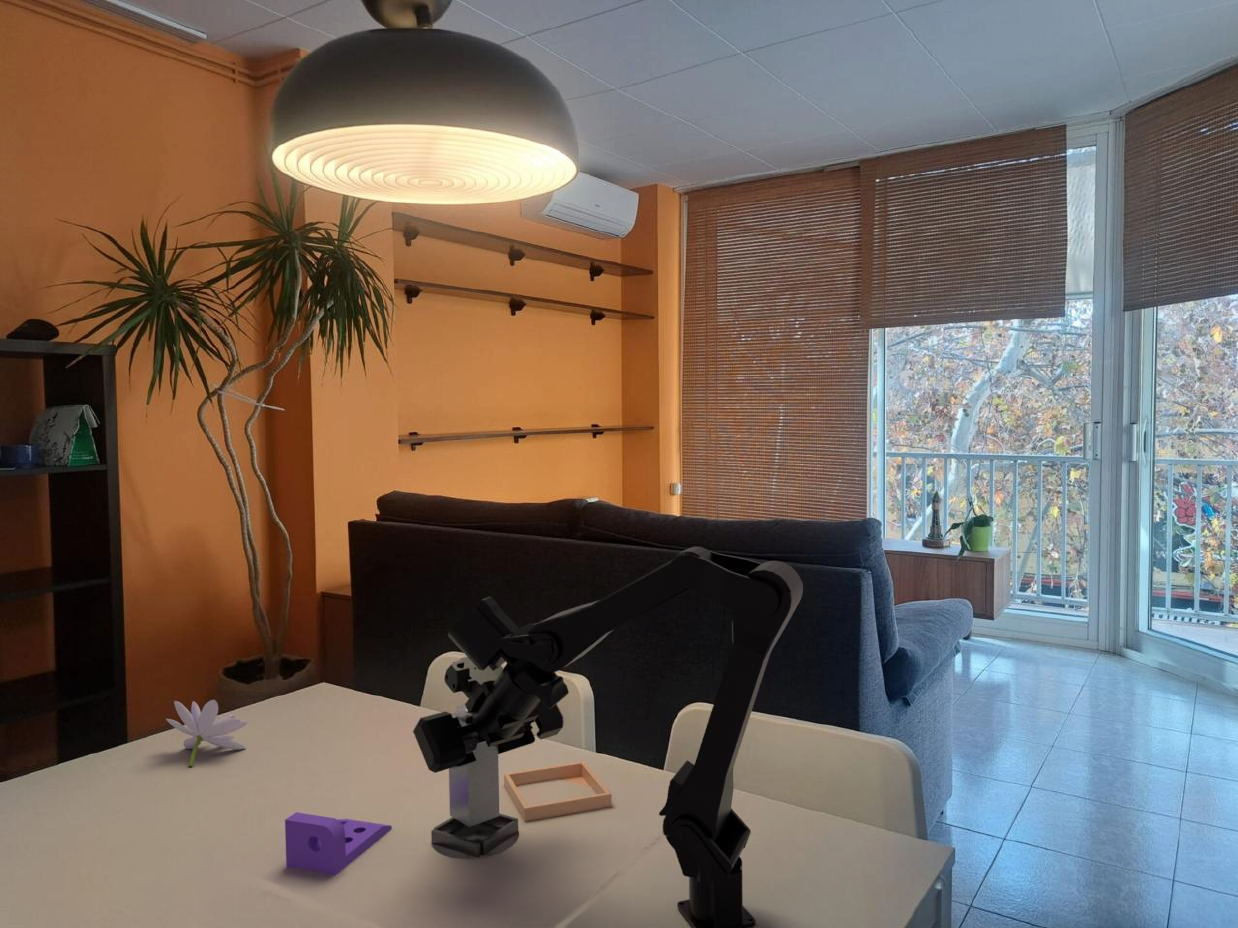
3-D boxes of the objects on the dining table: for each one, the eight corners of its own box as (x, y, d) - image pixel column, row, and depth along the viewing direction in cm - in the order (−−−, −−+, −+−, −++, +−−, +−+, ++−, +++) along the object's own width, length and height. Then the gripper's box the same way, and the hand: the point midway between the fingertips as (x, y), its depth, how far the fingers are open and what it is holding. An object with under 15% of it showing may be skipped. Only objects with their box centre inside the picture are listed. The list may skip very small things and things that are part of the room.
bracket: (335, 884, 103) (334, 827, 102) (286, 875, 105) (284, 819, 104) (391, 837, 114) (390, 785, 114) (346, 829, 116) (345, 779, 116)
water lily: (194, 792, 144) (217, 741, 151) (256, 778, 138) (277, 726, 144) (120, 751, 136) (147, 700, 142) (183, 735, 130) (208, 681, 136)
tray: (611, 811, 120) (611, 793, 120) (524, 826, 116) (524, 808, 116) (584, 777, 131) (583, 761, 131) (504, 790, 127) (503, 773, 127)
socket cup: (536, 834, 114) (535, 816, 113) (481, 873, 104) (481, 853, 104) (470, 816, 119) (470, 798, 119) (412, 850, 110) (412, 832, 110)
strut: (499, 815, 111) (497, 707, 111) (469, 827, 108) (466, 715, 108) (479, 804, 115) (477, 699, 114) (449, 815, 112) (447, 706, 111)
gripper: (548, 625, 113) (502, 690, 122) (418, 652, 101) (378, 722, 110) (588, 699, 108) (537, 761, 117) (455, 737, 96) (410, 804, 104)
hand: (467, 759), depth 112 cm, fingers closed on strut, 4 cm apart
